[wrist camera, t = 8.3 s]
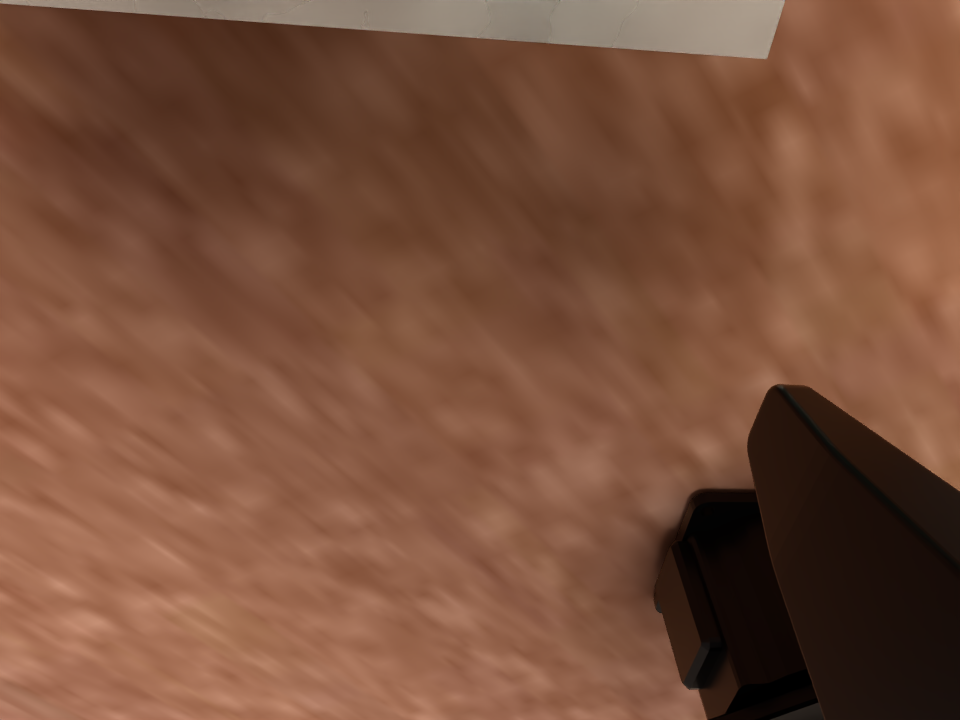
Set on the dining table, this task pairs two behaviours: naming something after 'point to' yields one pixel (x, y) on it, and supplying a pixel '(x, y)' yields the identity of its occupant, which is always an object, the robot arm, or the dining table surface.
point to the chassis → (503, 19)
